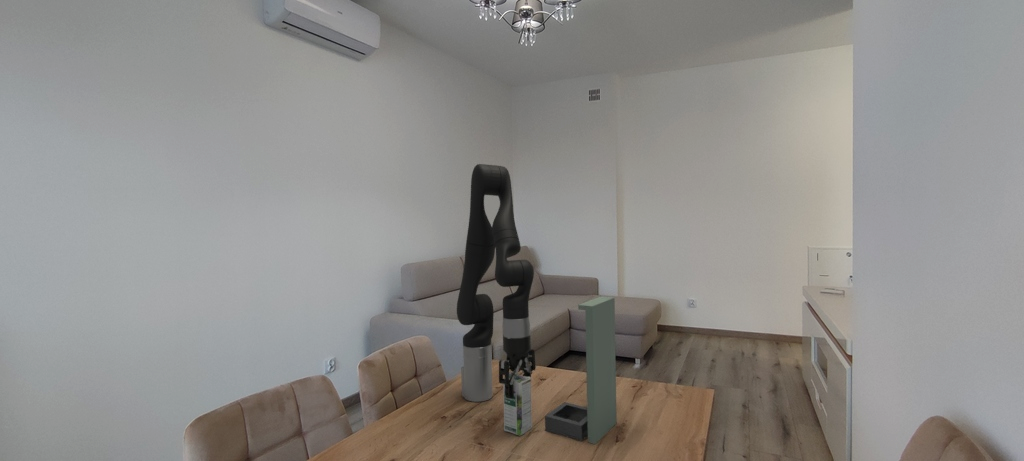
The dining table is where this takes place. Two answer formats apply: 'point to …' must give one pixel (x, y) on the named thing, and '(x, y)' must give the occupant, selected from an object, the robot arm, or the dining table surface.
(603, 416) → the long narrow green plank
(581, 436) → the socket
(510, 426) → the syrup box
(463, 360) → the robot arm
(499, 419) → the dining table surface
